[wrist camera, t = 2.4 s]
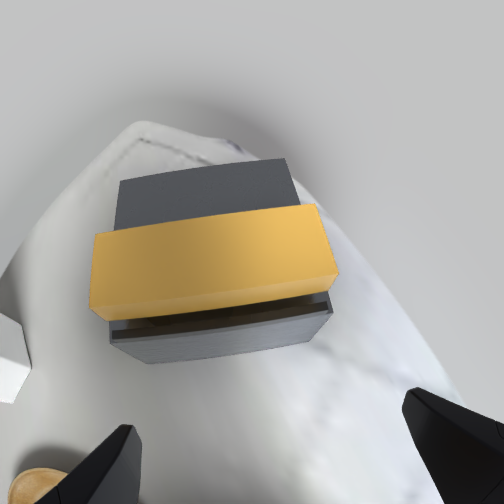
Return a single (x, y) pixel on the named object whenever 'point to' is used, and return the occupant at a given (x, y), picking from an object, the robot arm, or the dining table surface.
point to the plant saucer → (33, 485)
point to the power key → (210, 263)
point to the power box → (222, 319)
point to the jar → (12, 359)
